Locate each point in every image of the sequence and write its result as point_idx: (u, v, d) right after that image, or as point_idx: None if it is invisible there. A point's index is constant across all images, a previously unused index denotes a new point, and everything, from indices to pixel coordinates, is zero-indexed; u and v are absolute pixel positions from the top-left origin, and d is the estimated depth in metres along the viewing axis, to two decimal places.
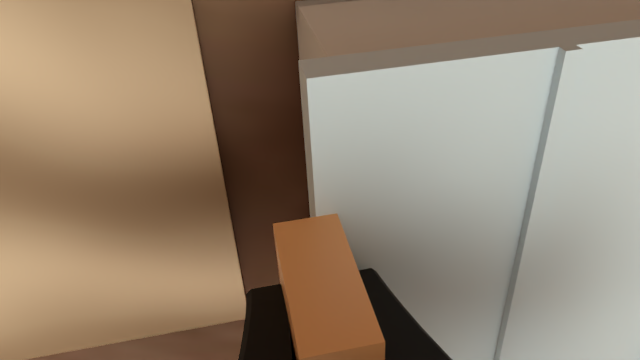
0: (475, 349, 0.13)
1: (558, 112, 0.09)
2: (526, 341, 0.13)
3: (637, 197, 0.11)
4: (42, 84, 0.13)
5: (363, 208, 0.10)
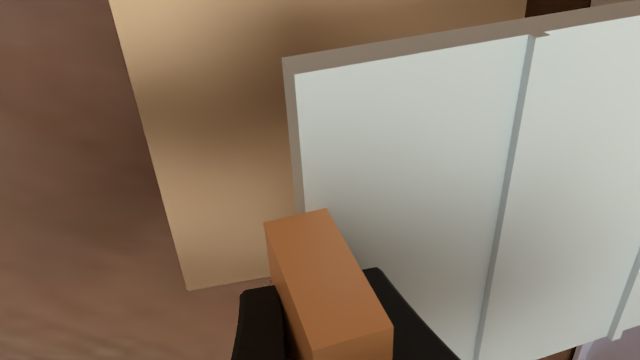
0: (458, 332, 0.13)
1: (530, 96, 0.10)
2: (505, 320, 0.14)
3: (600, 174, 0.12)
4: (406, 18, 0.16)
5: (350, 200, 0.10)
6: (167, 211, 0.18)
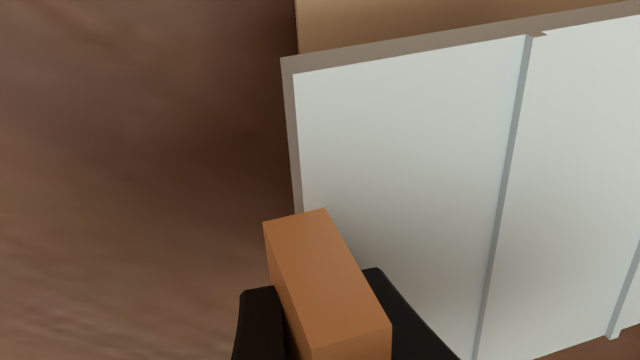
0: (457, 331, 0.13)
1: (528, 96, 0.10)
2: (503, 319, 0.14)
3: (597, 173, 0.12)
4: None
5: (349, 200, 0.10)
6: None
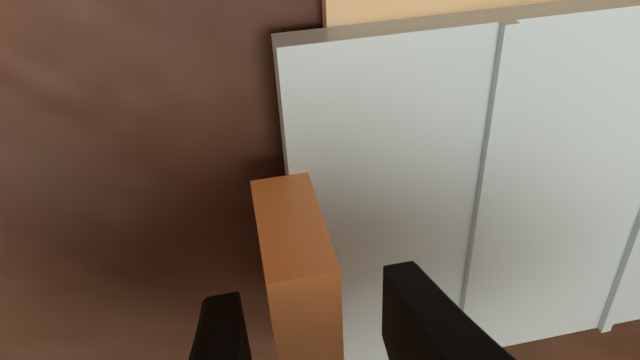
0: None
1: (502, 80, 0.10)
2: (488, 299, 0.14)
3: (581, 162, 0.12)
4: None
5: (331, 167, 0.11)
6: None
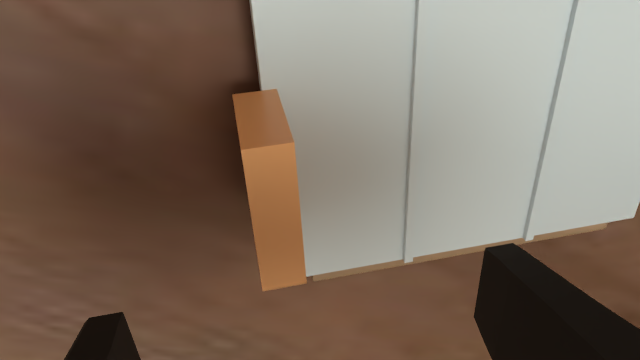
0: (389, 210, 0.17)
1: (422, 16, 0.14)
2: (428, 206, 0.18)
3: (493, 87, 0.16)
4: None
5: (294, 85, 0.14)
6: None
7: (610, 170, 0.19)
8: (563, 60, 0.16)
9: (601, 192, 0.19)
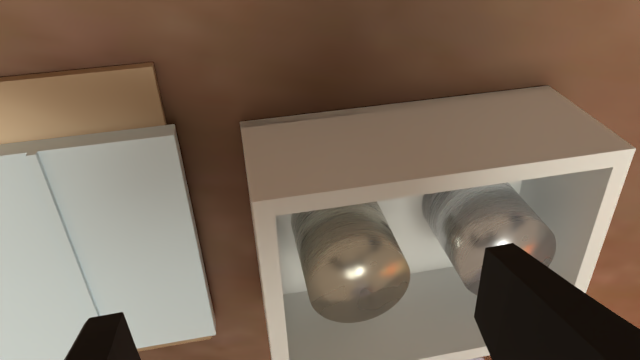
0: None
1: None
2: None
3: None
4: None
5: None
6: None
7: (165, 301, 0.21)
8: (55, 227, 0.18)
9: (167, 317, 0.22)
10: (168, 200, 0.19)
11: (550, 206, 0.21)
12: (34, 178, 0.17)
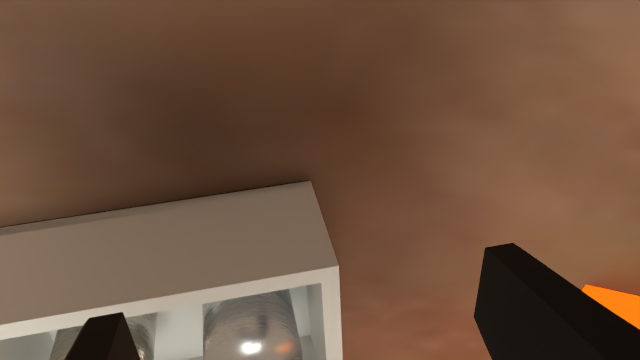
0: None
1: None
2: None
3: None
4: None
5: None
6: None
7: None
8: None
9: None
10: None
11: (313, 300, 0.21)
12: None
